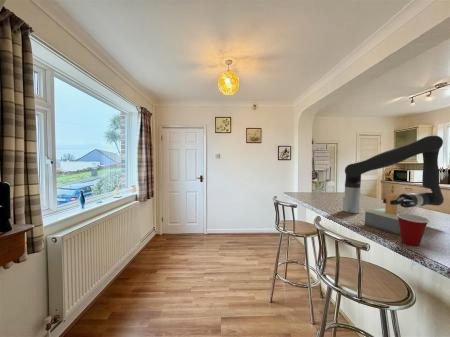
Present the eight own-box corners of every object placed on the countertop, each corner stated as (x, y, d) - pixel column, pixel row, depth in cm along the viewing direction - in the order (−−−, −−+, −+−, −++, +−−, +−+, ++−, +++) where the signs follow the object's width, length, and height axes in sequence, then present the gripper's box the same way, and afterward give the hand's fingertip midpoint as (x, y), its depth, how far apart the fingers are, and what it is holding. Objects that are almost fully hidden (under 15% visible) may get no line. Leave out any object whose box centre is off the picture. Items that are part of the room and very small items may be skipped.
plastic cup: (415, 250, 88) (417, 220, 87) (389, 240, 98) (390, 214, 98) (435, 247, 91) (436, 219, 90) (407, 238, 101) (408, 212, 101)
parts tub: (364, 224, 122) (365, 212, 122) (383, 222, 126) (383, 210, 126) (399, 235, 105) (399, 221, 105) (418, 232, 109) (419, 218, 109)
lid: (365, 214, 122) (365, 192, 121) (383, 212, 126) (384, 191, 125) (399, 223, 105) (400, 198, 104) (419, 221, 109) (420, 196, 108)
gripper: (397, 191, 126) (374, 192, 121) (425, 195, 112) (402, 197, 107) (396, 204, 126) (374, 206, 121) (425, 210, 113) (401, 212, 108)
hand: (387, 201), depth 114 cm, fingers closed on lid, 3 cm apart
